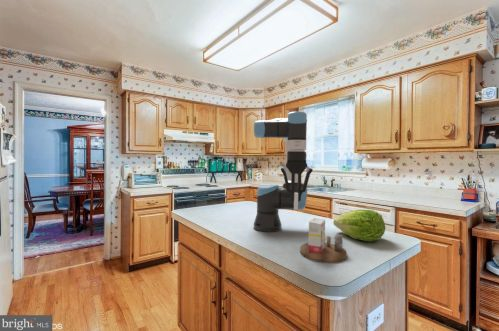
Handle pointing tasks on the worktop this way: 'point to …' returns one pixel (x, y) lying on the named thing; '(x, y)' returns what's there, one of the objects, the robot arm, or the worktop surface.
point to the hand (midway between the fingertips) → (295, 208)
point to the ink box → (316, 235)
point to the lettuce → (361, 224)
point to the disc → (327, 251)
